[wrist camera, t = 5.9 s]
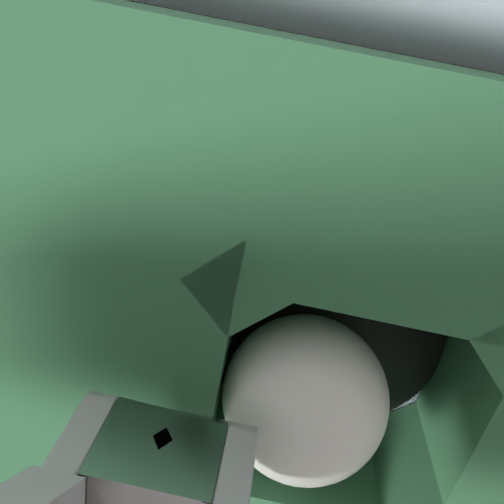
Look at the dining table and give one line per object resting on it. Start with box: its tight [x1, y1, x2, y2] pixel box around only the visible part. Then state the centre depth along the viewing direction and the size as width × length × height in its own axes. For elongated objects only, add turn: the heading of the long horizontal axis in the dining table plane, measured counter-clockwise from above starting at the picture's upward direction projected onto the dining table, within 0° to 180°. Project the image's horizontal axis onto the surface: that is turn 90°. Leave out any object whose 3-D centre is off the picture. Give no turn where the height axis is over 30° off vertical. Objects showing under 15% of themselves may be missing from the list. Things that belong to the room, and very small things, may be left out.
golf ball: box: [222, 314, 390, 488], centre depth 10 cm, size 4×4×4 cm
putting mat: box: [0, 0, 504, 504], centre depth 11 cm, size 22×13×3 cm, turn 80°
